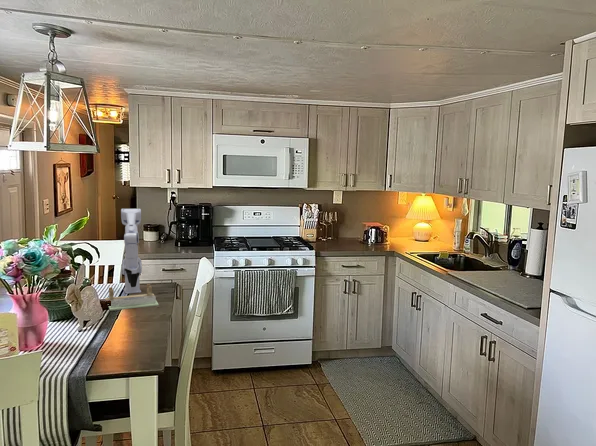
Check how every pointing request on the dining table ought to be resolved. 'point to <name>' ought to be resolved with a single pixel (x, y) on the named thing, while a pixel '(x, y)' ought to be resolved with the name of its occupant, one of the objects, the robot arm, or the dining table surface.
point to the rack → (111, 296)
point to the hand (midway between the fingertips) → (132, 284)
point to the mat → (133, 306)
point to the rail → (133, 301)
